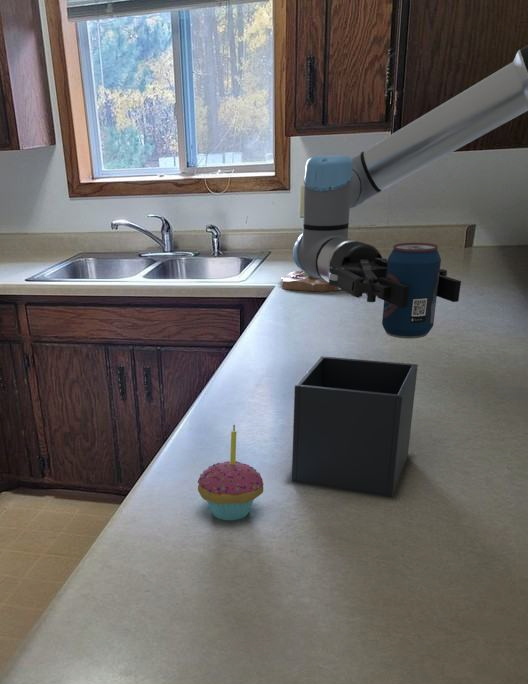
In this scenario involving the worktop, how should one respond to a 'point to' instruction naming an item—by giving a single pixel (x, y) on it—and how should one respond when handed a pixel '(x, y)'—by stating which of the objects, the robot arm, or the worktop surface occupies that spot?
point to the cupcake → (230, 486)
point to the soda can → (413, 289)
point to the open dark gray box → (353, 424)
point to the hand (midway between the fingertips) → (431, 294)
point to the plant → (305, 283)
